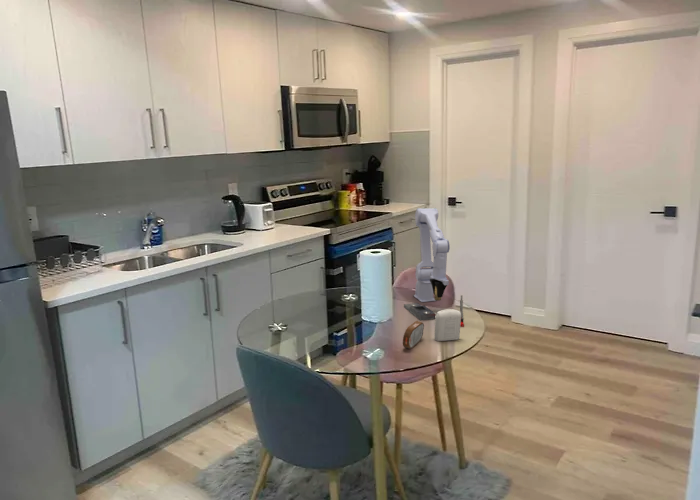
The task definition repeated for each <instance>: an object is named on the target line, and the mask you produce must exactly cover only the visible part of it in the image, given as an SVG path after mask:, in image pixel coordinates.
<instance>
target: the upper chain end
mask: <svg viewBox="0 0 700 500" xmlns="http://www.w3.org/2000/svg"><path fill="white" fill-rule="evenodd" d="M417 309H423V310H417ZM410 310H412V311H413V312H414V313H415V314H416V316H415V318H417V320H419V321H427V320H428V321H429V320H436V312H433V311H432V310H431V309H430V308H428V307H427V306H426V305H424V304H423V305H421V306H412V307H410Z"/></svg>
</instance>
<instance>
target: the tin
mask: <svg viewBox="0 0 700 500" xmlns="http://www.w3.org/2000/svg"><path fill="white" fill-rule="evenodd" d="M424 324H425V323H424V322H422V321H420V320H419V321H418V320H415V321H414V322H412V323H411V324H410V325H408V326H407V327H406V329H405V331H404V333H403V337H402V347H403V348H406V349H410V350H411V349H413V348H414V347H415V346H417V344H418V343H419V342H420V341H421V340H422V339H423V335H424V328H425V325H424ZM413 346H414V347H413Z"/></svg>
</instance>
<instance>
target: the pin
mask: <svg viewBox="0 0 700 500" xmlns="http://www.w3.org/2000/svg"><path fill="white" fill-rule="evenodd" d="M433 298H434V299H435V300H436V301H441V300H442V297H439V298H438V297H437V288H436V286H435V295H434V296H433Z"/></svg>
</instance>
